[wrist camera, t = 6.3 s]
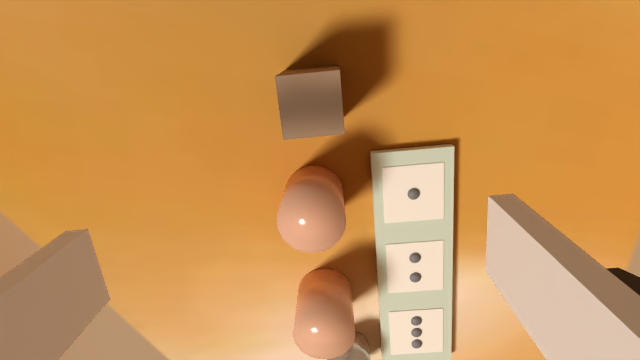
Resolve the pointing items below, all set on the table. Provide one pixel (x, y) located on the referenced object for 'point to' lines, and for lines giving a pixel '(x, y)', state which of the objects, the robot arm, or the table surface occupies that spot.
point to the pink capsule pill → (324, 315)
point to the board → (414, 250)
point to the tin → (356, 350)
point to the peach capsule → (312, 210)
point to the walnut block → (310, 102)
